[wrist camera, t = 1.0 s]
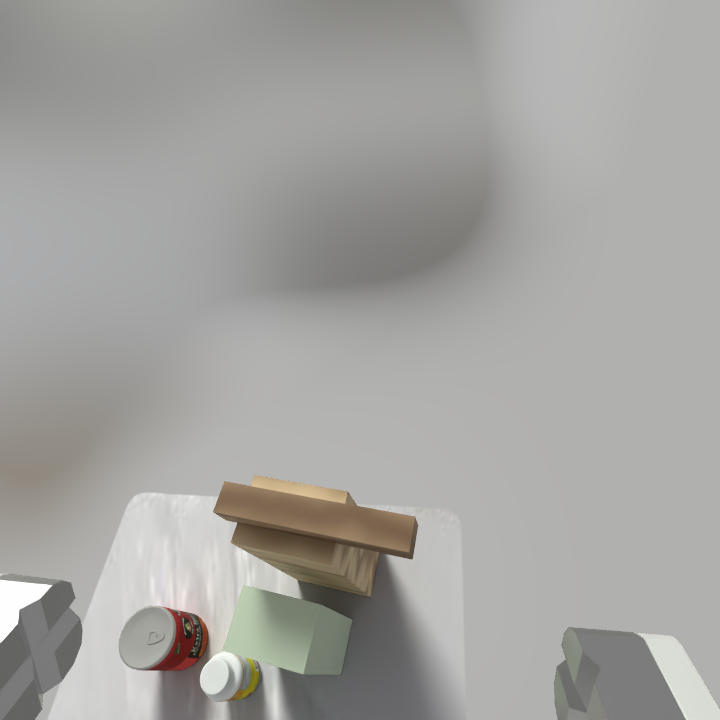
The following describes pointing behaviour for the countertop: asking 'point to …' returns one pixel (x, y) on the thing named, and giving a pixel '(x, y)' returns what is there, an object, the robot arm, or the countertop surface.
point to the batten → (319, 519)
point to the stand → (309, 546)
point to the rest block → (288, 633)
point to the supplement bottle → (230, 677)
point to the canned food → (162, 639)
